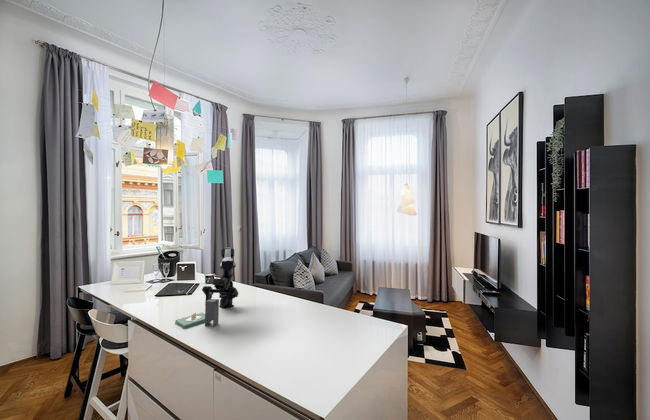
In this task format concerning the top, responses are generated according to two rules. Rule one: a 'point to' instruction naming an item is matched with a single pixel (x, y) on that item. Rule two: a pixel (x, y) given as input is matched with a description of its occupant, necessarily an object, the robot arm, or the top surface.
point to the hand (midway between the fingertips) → (214, 306)
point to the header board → (191, 320)
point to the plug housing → (211, 311)
